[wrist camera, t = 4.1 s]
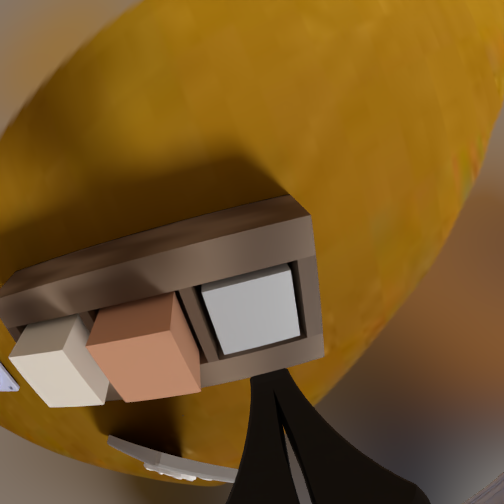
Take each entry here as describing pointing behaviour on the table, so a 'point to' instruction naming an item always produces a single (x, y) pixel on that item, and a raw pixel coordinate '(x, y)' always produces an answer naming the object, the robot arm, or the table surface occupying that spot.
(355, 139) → the table surface
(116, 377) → the rust key
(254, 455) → the robot arm
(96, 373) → the ivory key
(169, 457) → the light switch
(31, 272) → the brown slotted tray
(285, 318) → the slate key
